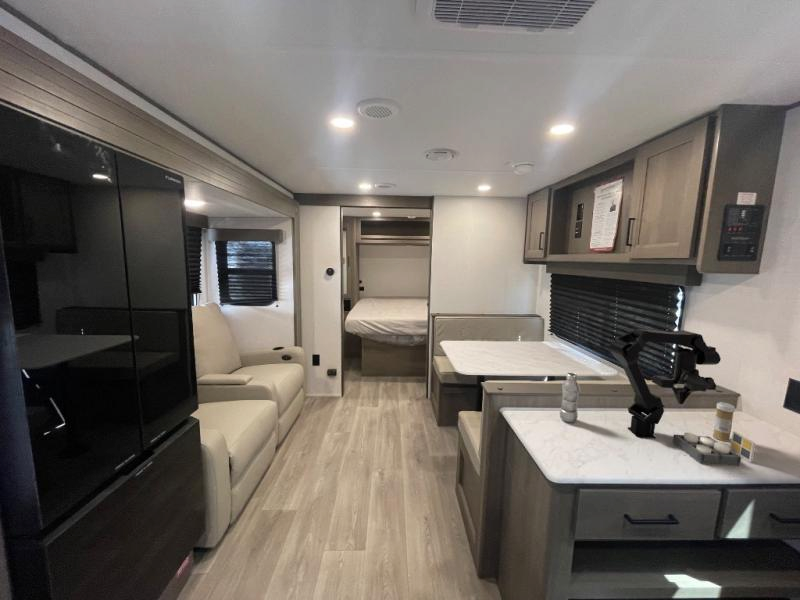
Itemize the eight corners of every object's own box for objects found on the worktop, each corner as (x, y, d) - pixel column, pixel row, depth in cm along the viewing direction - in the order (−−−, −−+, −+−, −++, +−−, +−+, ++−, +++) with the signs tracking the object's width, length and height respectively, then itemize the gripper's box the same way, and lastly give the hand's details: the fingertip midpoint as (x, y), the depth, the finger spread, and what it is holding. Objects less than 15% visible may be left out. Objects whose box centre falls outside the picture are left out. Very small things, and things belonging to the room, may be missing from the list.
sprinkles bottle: (730, 439, 116) (736, 405, 114) (727, 443, 113) (733, 408, 111) (713, 433, 119) (718, 400, 118) (710, 437, 117) (715, 403, 115)
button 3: (705, 448, 108) (706, 442, 107) (696, 442, 111) (697, 436, 111) (716, 449, 107) (717, 442, 107) (707, 443, 111) (708, 437, 110)
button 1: (688, 444, 108) (689, 437, 108) (680, 438, 111) (681, 432, 111) (700, 445, 108) (701, 438, 107) (691, 439, 111) (692, 432, 111)
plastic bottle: (555, 417, 130) (559, 372, 128) (568, 415, 132) (571, 370, 130) (568, 425, 124) (571, 378, 122) (581, 423, 126) (585, 376, 124)
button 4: (720, 455, 102) (721, 448, 102) (710, 448, 106) (711, 442, 105) (732, 455, 102) (733, 449, 101) (721, 449, 105) (722, 442, 105)
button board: (700, 463, 102) (701, 454, 101) (672, 442, 113) (673, 434, 113) (739, 466, 100) (741, 457, 100) (707, 444, 112) (708, 436, 112)
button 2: (701, 457, 103) (702, 450, 102) (692, 450, 106) (693, 444, 106) (713, 458, 102) (714, 451, 102) (704, 451, 106) (705, 445, 106)
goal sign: (749, 462, 102) (753, 443, 101) (729, 449, 109) (732, 431, 108) (752, 462, 102) (755, 443, 101) (731, 449, 109) (734, 431, 108)
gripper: (675, 371, 109) (670, 412, 111) (733, 373, 107) (727, 415, 109) (653, 360, 120) (648, 398, 122) (705, 362, 118) (700, 401, 120)
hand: (680, 403), depth 118 cm, fingers closed
